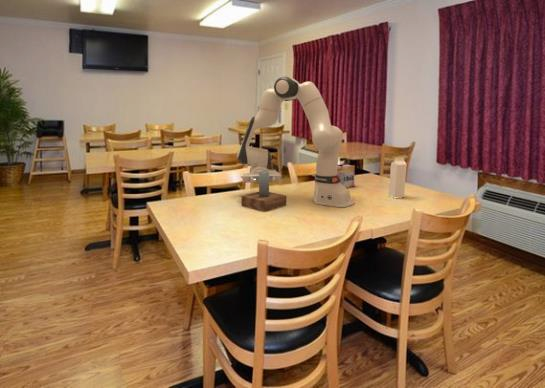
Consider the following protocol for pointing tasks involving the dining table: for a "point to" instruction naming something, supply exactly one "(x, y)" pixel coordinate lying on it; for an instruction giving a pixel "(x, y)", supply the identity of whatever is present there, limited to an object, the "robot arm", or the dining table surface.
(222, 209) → the dining table surface
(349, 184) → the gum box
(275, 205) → the walnut base
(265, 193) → the grey rectangular block
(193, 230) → the dining table surface
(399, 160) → the milk
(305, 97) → the robot arm
